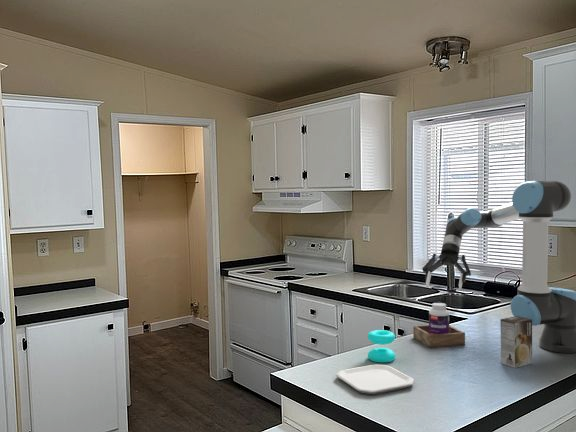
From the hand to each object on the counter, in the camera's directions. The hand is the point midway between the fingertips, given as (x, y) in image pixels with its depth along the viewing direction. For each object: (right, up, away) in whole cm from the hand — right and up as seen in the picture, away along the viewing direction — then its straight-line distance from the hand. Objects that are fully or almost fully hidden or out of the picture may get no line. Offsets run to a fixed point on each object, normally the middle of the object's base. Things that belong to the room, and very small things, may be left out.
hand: (443, 286), depth 220 cm
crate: (-4, -22, -6) cm, 23 cm away
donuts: (-31, -23, -27) cm, 47 cm away
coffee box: (+16, -23, -35) cm, 44 cm away
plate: (-37, -25, -50) cm, 67 cm away
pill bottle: (-3, -21, -6) cm, 22 cm away
